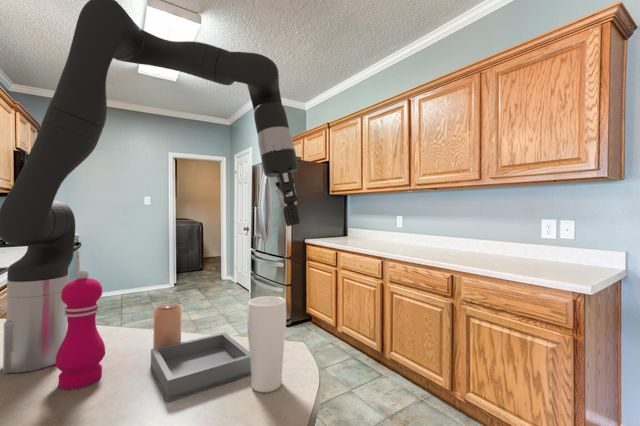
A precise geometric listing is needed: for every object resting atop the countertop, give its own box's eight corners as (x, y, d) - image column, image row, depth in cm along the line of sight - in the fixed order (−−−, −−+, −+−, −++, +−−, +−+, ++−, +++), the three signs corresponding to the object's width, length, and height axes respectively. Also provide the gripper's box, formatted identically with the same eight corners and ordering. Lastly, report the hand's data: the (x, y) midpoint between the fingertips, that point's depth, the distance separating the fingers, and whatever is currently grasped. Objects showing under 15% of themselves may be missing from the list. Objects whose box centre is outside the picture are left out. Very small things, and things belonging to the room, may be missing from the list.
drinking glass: (278, 399, 51) (279, 307, 51) (240, 394, 52) (240, 304, 53) (290, 378, 58) (291, 296, 58) (256, 374, 59) (256, 294, 59)
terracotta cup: (155, 360, 64) (156, 311, 64) (151, 351, 69) (151, 305, 69) (183, 354, 68) (184, 307, 68) (177, 345, 72) (178, 302, 72)
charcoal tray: (167, 402, 50) (167, 380, 50) (150, 366, 62) (151, 349, 62) (253, 374, 59) (254, 355, 59) (224, 347, 71) (225, 332, 71)
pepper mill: (64, 374, 59) (66, 267, 59) (109, 367, 61) (111, 266, 62) (46, 394, 52) (49, 274, 52) (98, 386, 55) (100, 272, 55)
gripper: (261, 162, 74) (275, 229, 74) (259, 146, 60) (276, 228, 60) (292, 157, 76) (305, 222, 75) (297, 139, 62) (314, 220, 61)
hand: (292, 225), depth 67 cm, fingers open, 8 cm apart
